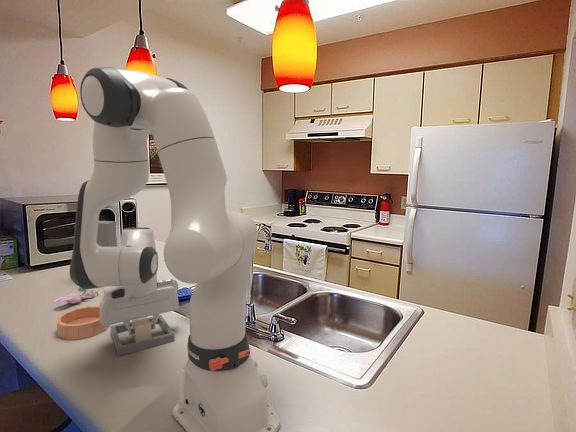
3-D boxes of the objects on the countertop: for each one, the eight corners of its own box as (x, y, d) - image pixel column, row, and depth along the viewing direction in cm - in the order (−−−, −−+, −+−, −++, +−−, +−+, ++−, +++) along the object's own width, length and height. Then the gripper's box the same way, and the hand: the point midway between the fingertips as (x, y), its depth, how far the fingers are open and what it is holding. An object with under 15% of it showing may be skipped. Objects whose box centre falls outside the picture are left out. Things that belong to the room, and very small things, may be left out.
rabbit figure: (88, 297, 123) (47, 306, 109) (90, 281, 123) (49, 288, 109) (101, 300, 121) (61, 310, 107) (102, 284, 121) (63, 291, 107)
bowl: (112, 331, 96) (111, 318, 95) (58, 344, 88) (56, 330, 88) (106, 314, 106) (106, 302, 106) (57, 324, 99) (56, 312, 98)
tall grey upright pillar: (120, 280, 138) (117, 221, 134) (111, 285, 131) (107, 223, 128) (89, 278, 139) (85, 219, 135) (78, 283, 133) (74, 222, 129)
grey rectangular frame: (174, 340, 92) (174, 333, 92) (118, 356, 84) (118, 348, 84) (161, 320, 103) (161, 314, 103) (110, 332, 95) (110, 326, 95)
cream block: (151, 338, 93) (151, 323, 92) (136, 342, 90) (135, 327, 90) (147, 331, 97) (147, 316, 96) (132, 334, 94) (132, 319, 94)
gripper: (174, 274, 100) (175, 318, 102) (96, 287, 88) (99, 336, 90) (181, 281, 95) (182, 326, 97) (99, 295, 83) (102, 346, 85)
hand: (141, 331), depth 93 cm, fingers closed on cream block, 4 cm apart
